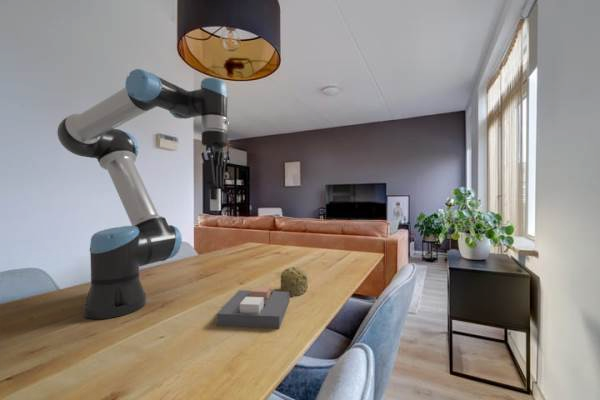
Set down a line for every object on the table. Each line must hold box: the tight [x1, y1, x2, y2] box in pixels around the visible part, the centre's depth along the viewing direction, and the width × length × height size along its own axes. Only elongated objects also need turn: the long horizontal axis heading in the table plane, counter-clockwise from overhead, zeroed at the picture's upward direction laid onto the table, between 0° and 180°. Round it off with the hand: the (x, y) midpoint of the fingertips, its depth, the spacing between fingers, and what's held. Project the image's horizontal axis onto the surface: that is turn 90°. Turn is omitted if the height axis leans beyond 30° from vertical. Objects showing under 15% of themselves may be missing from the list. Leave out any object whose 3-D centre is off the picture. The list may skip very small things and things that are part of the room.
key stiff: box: [249, 285, 272, 300], centre depth 79 cm, size 5×5×4 cm
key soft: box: [240, 297, 264, 314], centre depth 70 cm, size 5×5×4 cm
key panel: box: [216, 289, 290, 329], centre depth 75 cm, size 16×17×3 cm
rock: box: [280, 266, 309, 297], centre depth 91 cm, size 10×11×10 cm
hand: (215, 210), depth 81 cm, fingers closed
